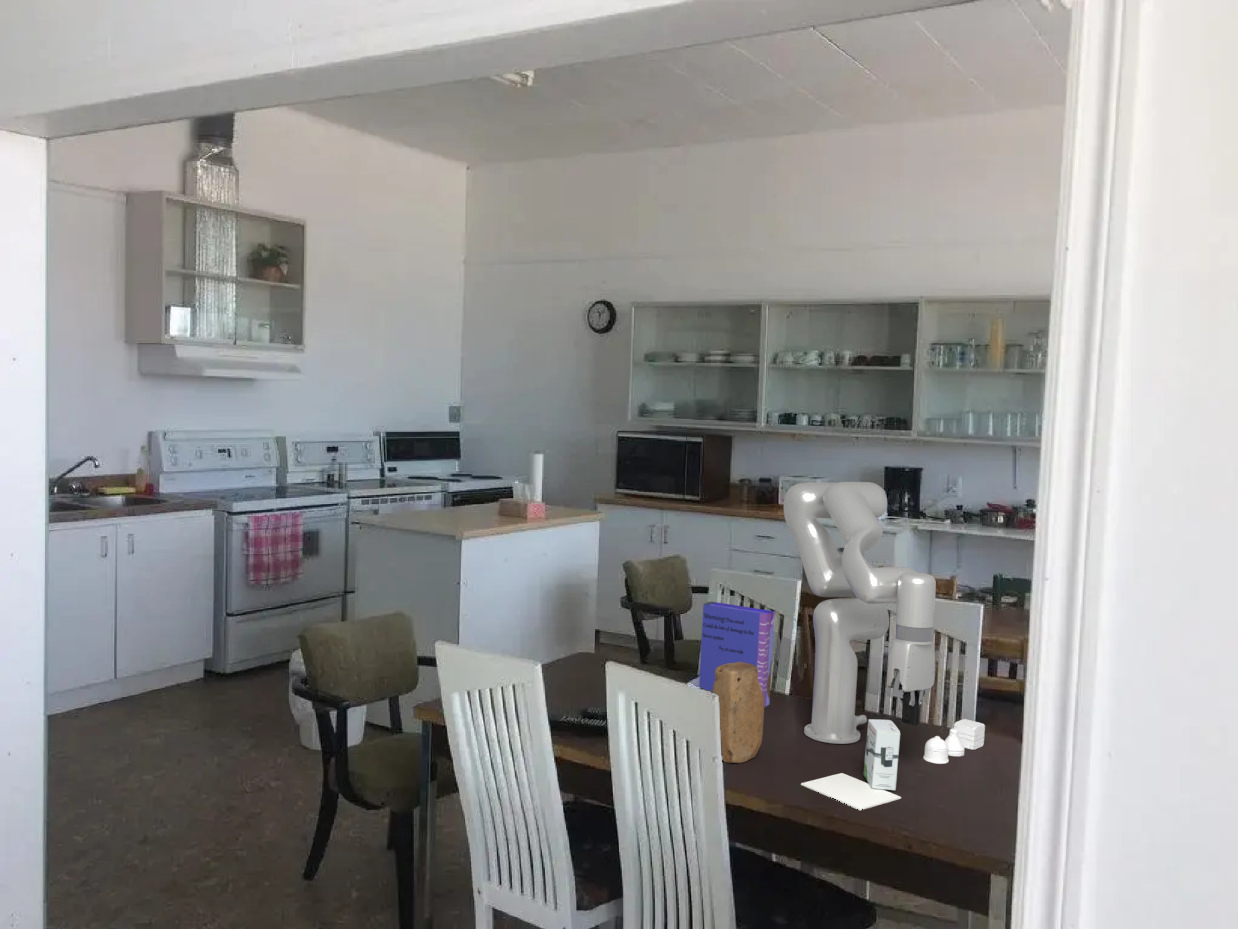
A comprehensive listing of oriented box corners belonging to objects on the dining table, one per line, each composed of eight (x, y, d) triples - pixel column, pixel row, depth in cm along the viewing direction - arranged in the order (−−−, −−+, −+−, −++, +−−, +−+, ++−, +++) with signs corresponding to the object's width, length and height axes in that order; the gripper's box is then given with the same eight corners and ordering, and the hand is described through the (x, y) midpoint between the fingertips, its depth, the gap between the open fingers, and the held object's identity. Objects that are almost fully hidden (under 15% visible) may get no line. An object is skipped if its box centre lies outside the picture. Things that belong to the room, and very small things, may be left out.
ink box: (862, 774, 215) (867, 717, 215) (886, 777, 215) (891, 719, 215) (871, 789, 206) (876, 729, 206) (896, 791, 206) (901, 731, 206)
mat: (841, 774, 215) (841, 773, 215) (901, 798, 203) (901, 797, 203) (800, 784, 208) (801, 783, 208) (859, 810, 196) (859, 809, 196)
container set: (962, 741, 242) (964, 718, 241) (984, 747, 238) (985, 724, 238) (918, 759, 228) (920, 735, 227) (941, 766, 224) (942, 741, 223)
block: (727, 767, 216) (732, 671, 215) (704, 756, 223) (709, 663, 221) (766, 758, 223) (771, 665, 222) (742, 748, 229) (747, 657, 228)
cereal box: (769, 705, 263) (774, 610, 262) (761, 709, 259) (767, 613, 258) (706, 692, 272) (711, 600, 271) (698, 696, 268) (703, 603, 267)
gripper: (922, 627, 221) (918, 714, 222) (875, 634, 212) (871, 724, 213) (952, 634, 215) (948, 723, 216) (905, 640, 206) (901, 733, 207)
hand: (910, 723), depth 214 cm, fingers closed
